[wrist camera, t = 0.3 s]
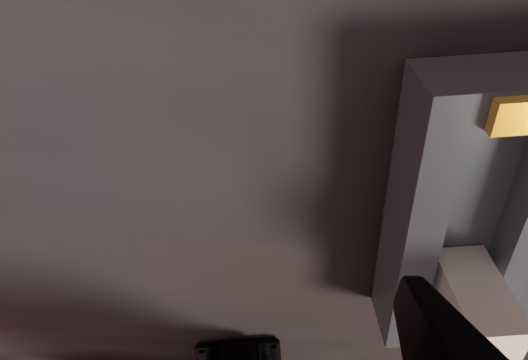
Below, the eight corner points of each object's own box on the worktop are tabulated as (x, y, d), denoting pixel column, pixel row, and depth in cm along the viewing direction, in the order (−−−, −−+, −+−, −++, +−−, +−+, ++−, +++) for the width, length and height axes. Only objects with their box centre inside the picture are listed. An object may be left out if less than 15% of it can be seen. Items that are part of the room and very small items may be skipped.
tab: (468, 289, 29) (513, 377, 24) (421, 292, 29) (457, 381, 24) (483, 244, 27) (536, 333, 22) (432, 248, 27) (474, 338, 22)
